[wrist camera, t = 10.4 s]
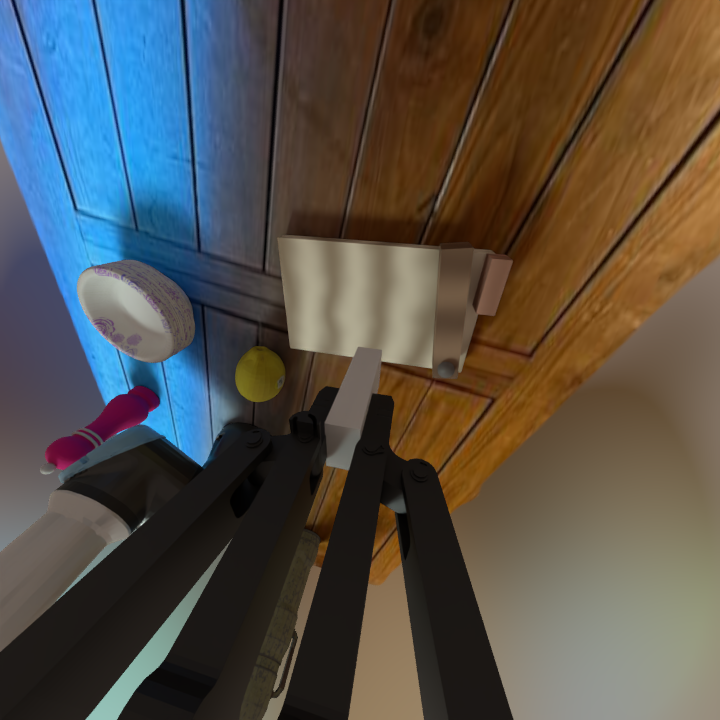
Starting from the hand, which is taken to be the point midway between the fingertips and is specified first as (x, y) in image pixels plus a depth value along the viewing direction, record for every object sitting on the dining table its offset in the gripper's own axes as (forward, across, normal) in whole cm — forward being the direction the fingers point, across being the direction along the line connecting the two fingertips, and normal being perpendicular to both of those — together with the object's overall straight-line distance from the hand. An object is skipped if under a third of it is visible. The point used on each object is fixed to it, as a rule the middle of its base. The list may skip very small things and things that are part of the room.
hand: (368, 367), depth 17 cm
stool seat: (+22, -2, -4) cm, 23 cm away
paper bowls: (+23, -38, -8) cm, 45 cm away
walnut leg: (+19, +7, -3) cm, 21 cm away
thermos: (+23, -18, -80) cm, 85 cm away
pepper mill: (+23, -53, -32) cm, 66 cm away
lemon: (+23, -20, -17) cm, 35 cm away
